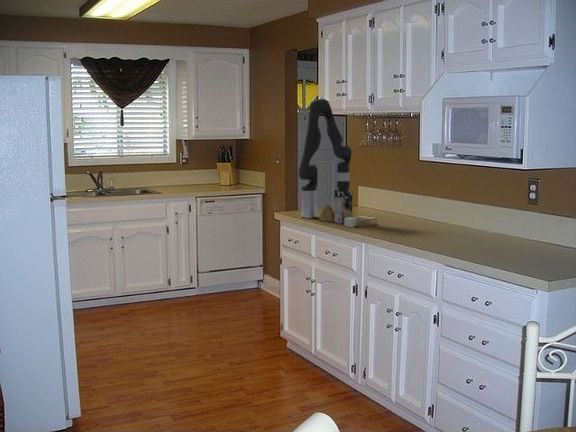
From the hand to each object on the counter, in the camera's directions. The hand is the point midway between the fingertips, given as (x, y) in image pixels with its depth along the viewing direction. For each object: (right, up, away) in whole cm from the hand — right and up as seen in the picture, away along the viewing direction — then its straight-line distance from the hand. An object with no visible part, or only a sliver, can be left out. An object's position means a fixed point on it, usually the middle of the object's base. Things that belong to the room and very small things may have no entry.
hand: (343, 207), depth 396 cm
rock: (-9, -8, +8) cm, 15 cm away
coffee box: (0, -9, +1) cm, 9 cm away
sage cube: (+3, -11, -14) cm, 18 cm away
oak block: (+11, -10, -6) cm, 16 cm away
